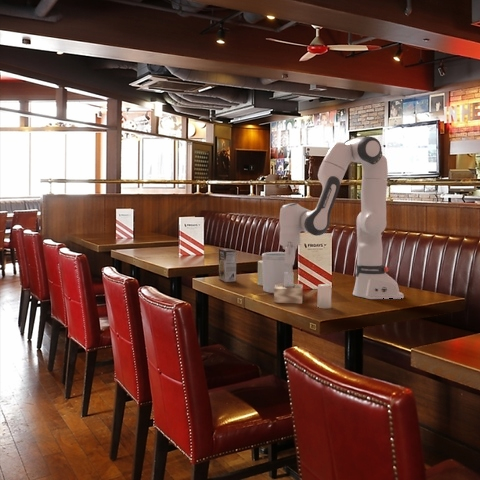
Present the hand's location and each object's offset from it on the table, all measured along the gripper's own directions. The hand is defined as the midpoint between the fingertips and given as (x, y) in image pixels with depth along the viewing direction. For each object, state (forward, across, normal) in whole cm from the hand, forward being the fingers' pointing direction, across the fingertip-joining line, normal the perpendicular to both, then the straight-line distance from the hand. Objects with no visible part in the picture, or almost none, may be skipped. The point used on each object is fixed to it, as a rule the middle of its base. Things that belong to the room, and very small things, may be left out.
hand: (290, 272), depth 238 cm
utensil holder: (+12, +20, +7) cm, 24 cm away
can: (+12, +35, +13) cm, 39 cm away
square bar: (+12, 0, +1) cm, 12 cm away
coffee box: (+11, +43, +34) cm, 56 cm away
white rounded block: (+12, -11, -14) cm, 22 cm away
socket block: (+12, 0, +1) cm, 12 cm away
